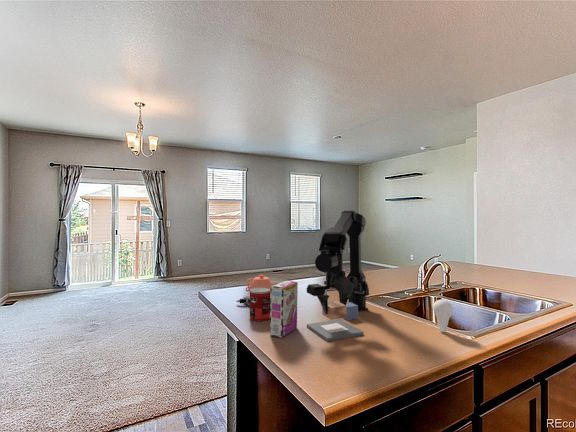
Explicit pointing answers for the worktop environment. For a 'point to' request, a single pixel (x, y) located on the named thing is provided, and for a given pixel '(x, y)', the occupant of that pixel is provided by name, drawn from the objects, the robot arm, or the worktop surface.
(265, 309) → the canned food
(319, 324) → the board
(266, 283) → the sugar bowl
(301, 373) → the worktop surface
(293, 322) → the candy bar box
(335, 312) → the terracotta block
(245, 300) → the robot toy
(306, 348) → the worktop surface
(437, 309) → the lightbulb
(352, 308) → the blue cube
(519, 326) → the worktop surface
